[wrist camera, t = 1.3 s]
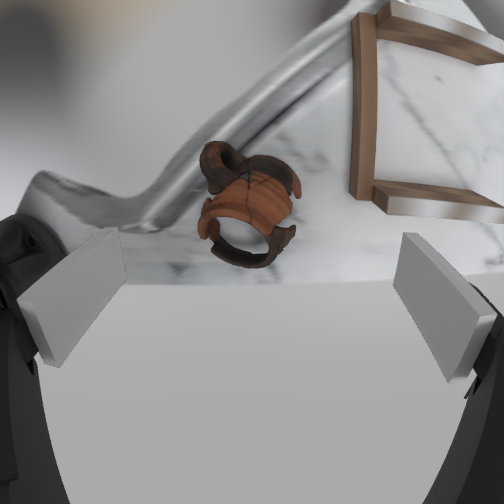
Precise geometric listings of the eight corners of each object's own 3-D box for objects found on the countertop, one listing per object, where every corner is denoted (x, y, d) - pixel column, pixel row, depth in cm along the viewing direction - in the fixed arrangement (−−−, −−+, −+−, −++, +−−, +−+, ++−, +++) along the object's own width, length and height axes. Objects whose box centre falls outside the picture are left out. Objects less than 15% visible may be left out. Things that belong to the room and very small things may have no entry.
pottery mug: (324, 203, 31) (308, 266, 26) (253, 226, 37) (228, 281, 32) (256, 104, 25) (217, 151, 20) (187, 147, 31) (144, 196, 26)
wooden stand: (348, 192, 30) (369, 213, 23) (351, 21, 23) (372, -4, 16) (469, 203, 29) (506, 224, 22) (476, 53, 22) (515, 47, 15)
